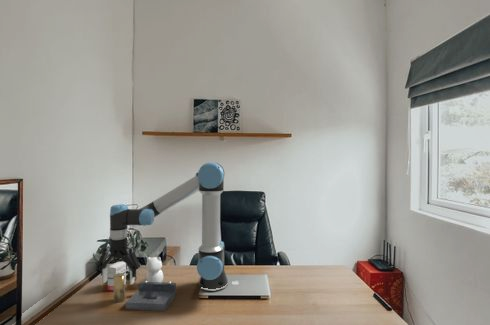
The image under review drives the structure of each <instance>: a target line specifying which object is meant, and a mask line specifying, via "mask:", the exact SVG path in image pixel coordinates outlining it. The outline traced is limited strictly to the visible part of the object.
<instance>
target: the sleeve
mask: <svg viewBox="0 0 490 325" xmlns="http://www.w3.org/2000/svg"><path fill="white" fill-rule="evenodd" d="M125 285H126V284H125V274H124V273H118V274H115V275H114V291H113V302H114V303H115V304H120V303H123V302H124V301H125V300H126V292H125V291H126V290H125V289H126V288H125V287H126V286H125Z"/></svg>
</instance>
